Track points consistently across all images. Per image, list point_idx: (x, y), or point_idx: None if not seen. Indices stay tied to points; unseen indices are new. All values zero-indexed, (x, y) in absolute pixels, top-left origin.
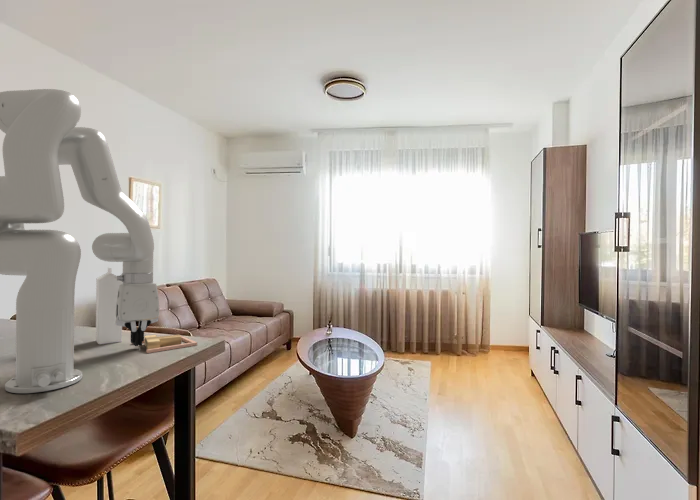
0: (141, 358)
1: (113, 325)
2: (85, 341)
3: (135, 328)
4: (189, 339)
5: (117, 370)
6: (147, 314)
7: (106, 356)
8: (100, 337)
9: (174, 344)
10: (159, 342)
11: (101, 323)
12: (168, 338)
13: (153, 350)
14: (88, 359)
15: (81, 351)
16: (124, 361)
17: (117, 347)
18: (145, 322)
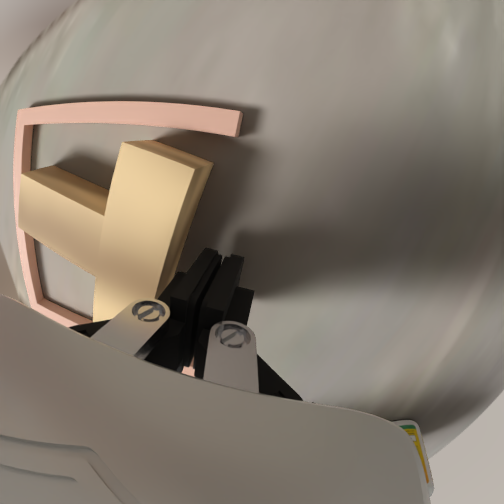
0: (328, 41)
1: None
2: None
3: (215, 345)
4: (15, 193)
5: (470, 2)
6: (18, 366)
7: (411, 251)
8: None
9: (68, 176)
10: (131, 142)
11: None
12: (64, 193)
13: (203, 107)
14: (467, 266)
15: (385, 396)
16: (415, 71)
17: (273, 366)
18: (103, 342)
